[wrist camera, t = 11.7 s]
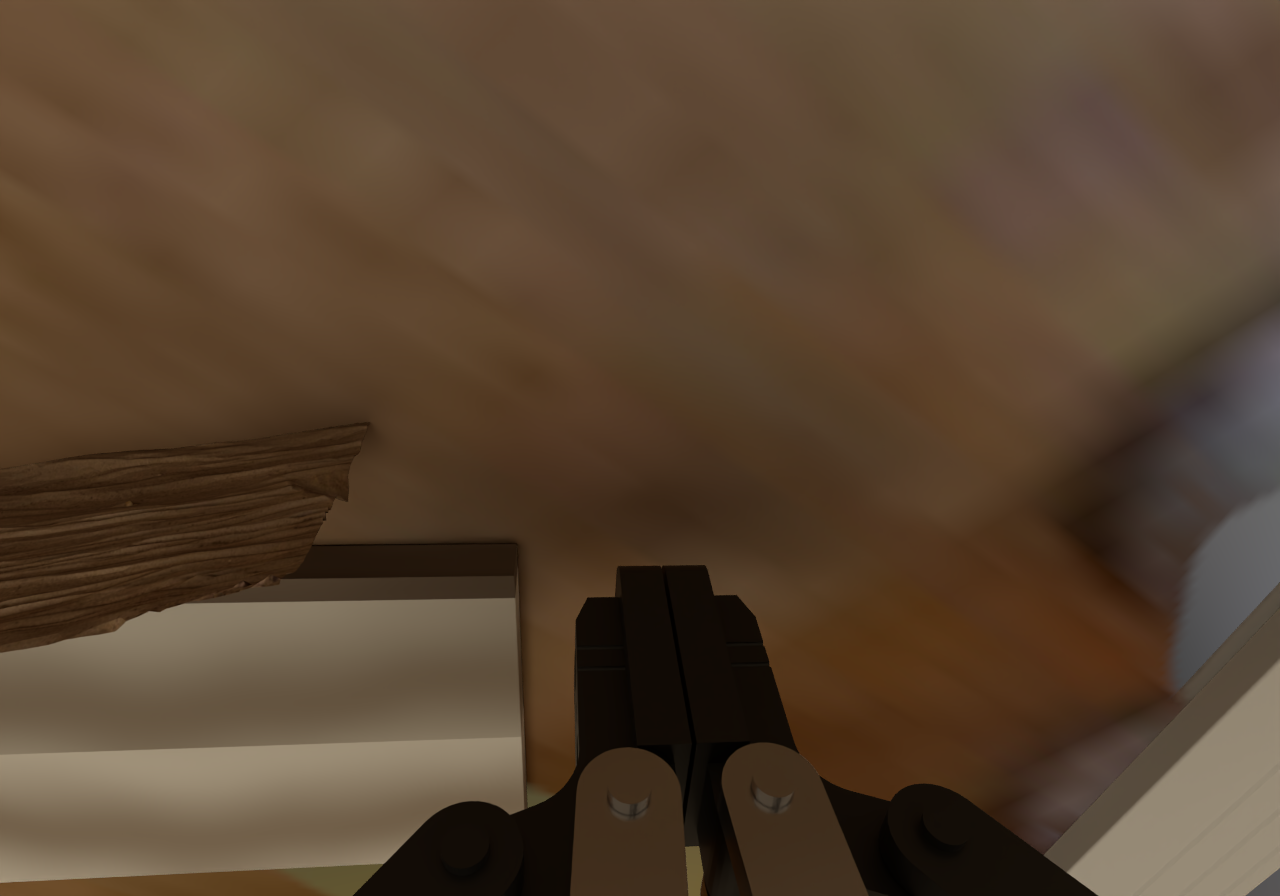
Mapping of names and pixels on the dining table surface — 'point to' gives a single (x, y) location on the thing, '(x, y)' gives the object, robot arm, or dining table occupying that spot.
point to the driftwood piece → (159, 528)
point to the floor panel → (269, 721)
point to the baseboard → (1196, 785)
